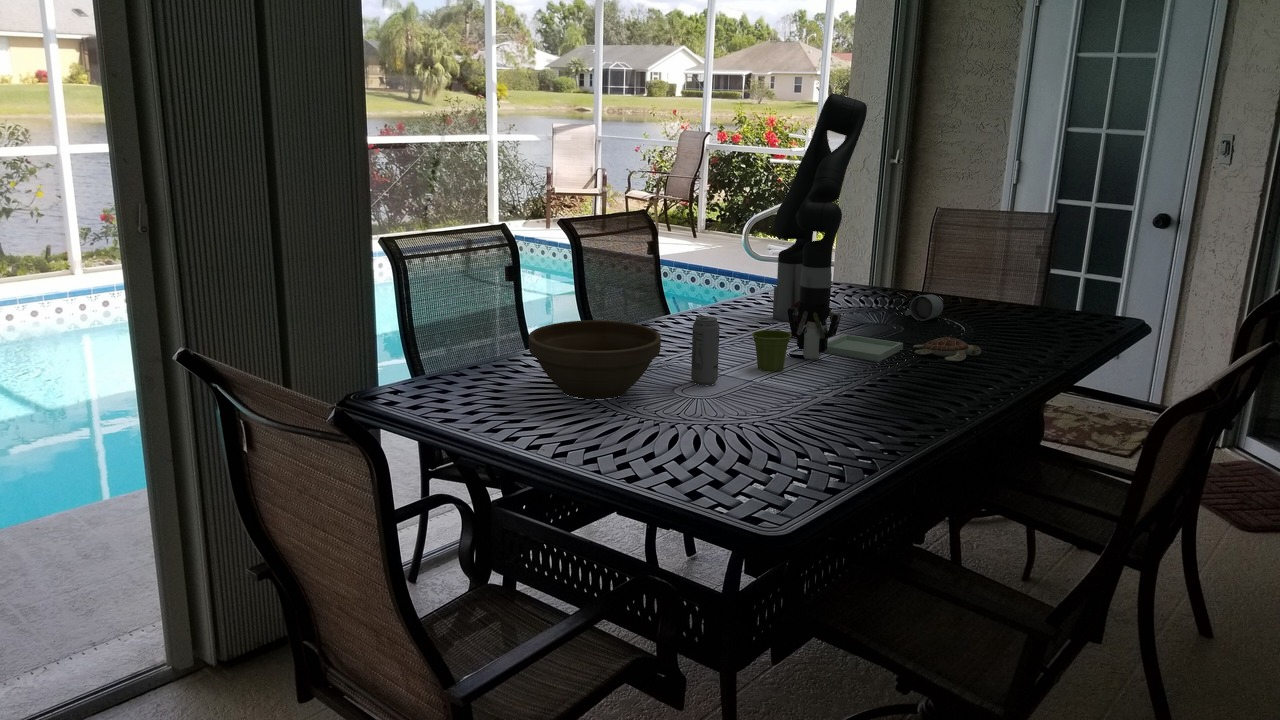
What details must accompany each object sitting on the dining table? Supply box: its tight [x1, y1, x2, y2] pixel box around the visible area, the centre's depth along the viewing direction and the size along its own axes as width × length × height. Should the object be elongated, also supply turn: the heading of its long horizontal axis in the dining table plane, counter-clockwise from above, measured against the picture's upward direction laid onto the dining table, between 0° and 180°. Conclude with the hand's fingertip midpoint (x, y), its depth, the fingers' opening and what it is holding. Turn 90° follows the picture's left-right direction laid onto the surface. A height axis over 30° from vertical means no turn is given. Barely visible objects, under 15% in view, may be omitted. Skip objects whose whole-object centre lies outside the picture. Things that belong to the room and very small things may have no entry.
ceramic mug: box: [904, 294, 944, 322], centre depth 284 cm, size 11×8×8 cm
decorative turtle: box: [912, 336, 982, 362], centre depth 241 cm, size 18×17×5 cm
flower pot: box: [528, 319, 662, 399], centre depth 204 cm, size 28×28×13 cm
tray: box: [823, 333, 904, 363], centre depth 244 cm, size 16×16×2 cm
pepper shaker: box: [802, 321, 821, 360], centre depth 235 cm, size 4×4×10 cm
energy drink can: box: [690, 315, 720, 386], centre depth 212 cm, size 6×6×15 cm
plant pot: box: [751, 329, 793, 373], centre depth 225 cm, size 9×9×9 cm
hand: (811, 350), depth 236 cm, fingers closed on pepper shaker, 5 cm apart
